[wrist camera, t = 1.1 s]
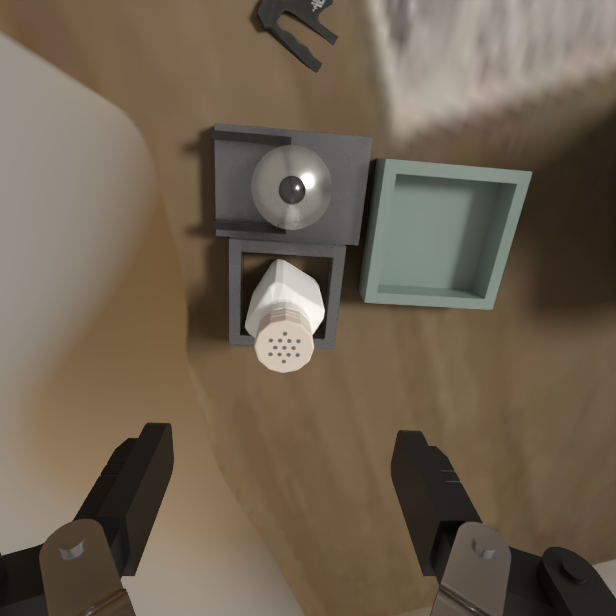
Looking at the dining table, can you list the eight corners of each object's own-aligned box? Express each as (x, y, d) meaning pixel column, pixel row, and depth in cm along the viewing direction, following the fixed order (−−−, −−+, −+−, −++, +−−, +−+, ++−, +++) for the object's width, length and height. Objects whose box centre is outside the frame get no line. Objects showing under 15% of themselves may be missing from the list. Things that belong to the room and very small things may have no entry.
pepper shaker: (321, 281, 28) (336, 337, 19) (292, 321, 29) (295, 391, 21) (276, 253, 27) (271, 299, 18) (249, 295, 28) (232, 358, 20)
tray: (376, 158, 25) (386, 158, 23) (510, 170, 26) (532, 171, 23) (358, 290, 29) (364, 302, 26) (475, 297, 29) (492, 309, 27)
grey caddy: (217, 124, 24) (204, 118, 20) (369, 138, 24) (383, 135, 21) (220, 331, 29) (210, 357, 26) (343, 337, 30) (350, 363, 26)
